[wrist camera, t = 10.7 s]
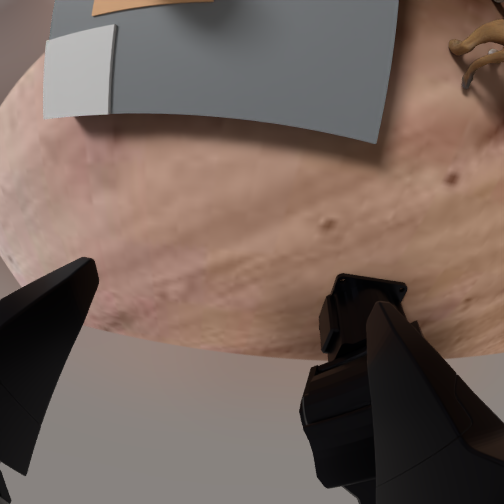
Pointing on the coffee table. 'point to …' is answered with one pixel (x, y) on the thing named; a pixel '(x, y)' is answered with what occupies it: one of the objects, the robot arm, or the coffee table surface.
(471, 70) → the lion figurine
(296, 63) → the gray peg hole board
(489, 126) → the coffee table surface
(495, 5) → the coffee table surface
